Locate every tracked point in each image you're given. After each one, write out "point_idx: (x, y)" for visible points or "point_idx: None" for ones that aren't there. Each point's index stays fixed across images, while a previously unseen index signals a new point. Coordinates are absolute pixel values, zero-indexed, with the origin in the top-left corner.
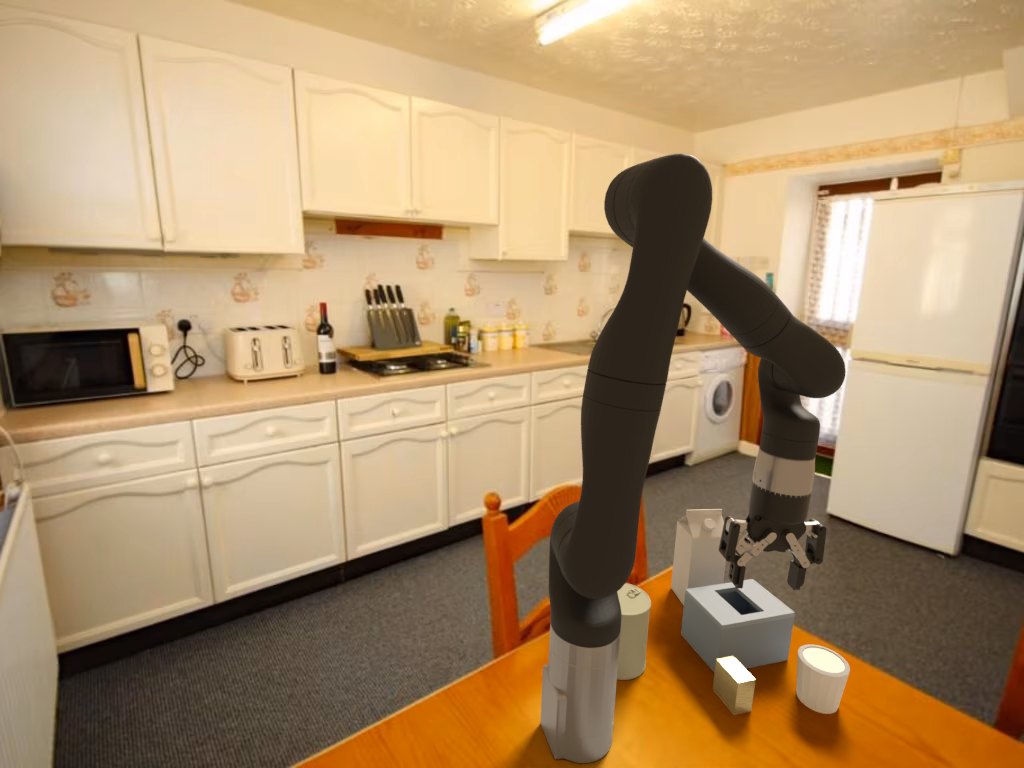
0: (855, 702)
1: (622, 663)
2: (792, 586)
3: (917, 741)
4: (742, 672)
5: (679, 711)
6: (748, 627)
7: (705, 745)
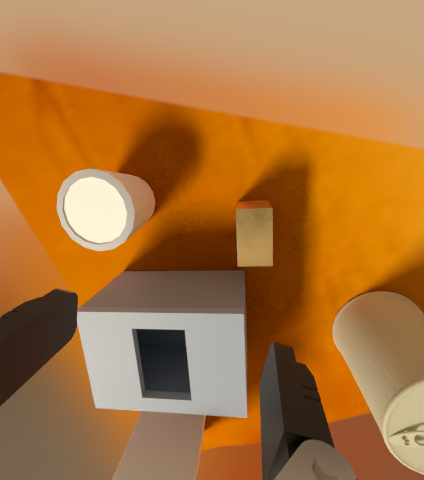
0: None
1: (412, 308)
2: (72, 308)
3: (45, 110)
4: (248, 228)
5: (344, 222)
6: (182, 305)
7: (346, 160)
